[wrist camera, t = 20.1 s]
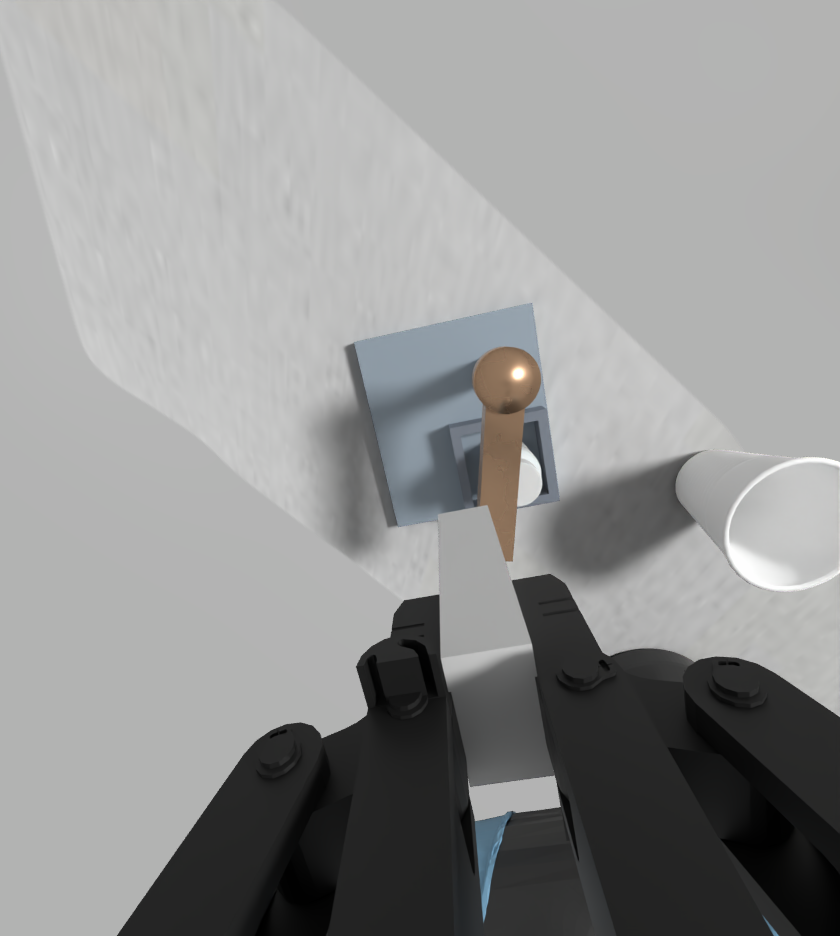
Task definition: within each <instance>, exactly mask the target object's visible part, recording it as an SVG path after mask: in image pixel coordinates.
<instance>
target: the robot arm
mask: <svg viewBox="0 0 840 936" xmlns="http://www.w3.org/2000/svg"><path fill="white" fill-rule="evenodd" d="M438 542H439V595H434V596H428V597H422V598H416V599H410V600H404V601H403V603H402V604H401V606H400V607H399V608H398V609H397V611H396V612H395V613H394V617H393V624H392V632H391V637H390V638H388V639H384V640H382V641H380V642H379V643H377V644H375V645H373V646H371V647H370V648H369V649H368V650H367V651H366V652H365V653H364V654H363V655H362V656H361V658H360V660H359V662H358V664H357V666H356V668H357V671H358V675H359V678H360V682H361V685H362V689H363V692H364V695H365V699H366V702H367V706H368V712H367V715H366V716H365V717H364V718H362V719H361V720H360V721H358V722H357V723H355V724H353V725H351V726H349V727H347V728H346V729H343V730H341V731H338V732H336V733H334V734H331V735H329V736H327V737H324V738H321V735H320V733H319V732H318V731H317V730H316V729H315V728H314V727H313V726H312V725H308V724H304V723H293V724H286V725H283V726H281V727H278V728H276V729H273V730H271V731H270V732H268V733H267V734H265V735H264V736H262V737H261V738H260V739H258V740H257V741H256V742H255V743H254V744H253V745H252V746H251V747H250V748H249V749H248V751H247V752H246V753H245V754H244V755H243V756H242V758H241V759H240V761H239V762H238V764H237V765H236V766H235V768H234V770H233V771H232V772H231V774H230V775H229V777H228V778H227V779H226V781H225V782H224V784H223V785H222V787H221V788H220V789H219V791H218V792H217V794H216V795H215V796H214V798H213V799H212V801H211V802H210V804H209V805H208V806H207V808H206V809H205V811H204V812H203V814H202V815H201V817H200V818H199V819H198V821H197V822H196V824H195V825H194V827H193V828H192V830H191V831H190V832H189V834H188V835H187V837H186V838H185V839H184V841H183V842H182V844H181V845H180V846H179V848H178V849H177V851H176V852H175V854H174V855H173V856H172V858H171V859H170V861H169V862H168V864H167V865H166V866H165V868H164V869H163V871H162V872H161V874H160V875H159V877H158V878H157V879H156V881H155V882H154V884H153V885H152V886H151V888H150V889H149V891H148V892H147V894H146V895H145V896H144V898H143V899H142V901H141V902H140V903H139V905H138V906H137V908H136V909H135V911H134V912H133V914H132V915H131V916H130V918H129V919H128V921H127V922H126V924H125V925H124V926H123V928H122V929H121V931H120V932H119V934H118V935H117V936H840V717H839V716H837V715H836V714H834V713H833V712H831V711H830V710H828V709H827V708H825V707H824V706H823V705H821V704H820V703H818V702H817V701H815V700H814V699H812V698H811V697H809V696H808V695H806V694H805V693H803V692H802V691H801V690H799V689H798V688H796V687H795V686H793V685H792V684H790V683H789V682H787V681H786V680H784V679H783V678H781V677H780V676H779V675H777V674H776V673H774V672H772V671H770V670H768V669H766V668H764V667H762V666H760V665H758V664H756V663H753V662H749V661H746V660H742V659H739V658H731V657H711V658H706V659H700V660H698V661H696V662H693V661H692V660H690V659H688V658H687V657H685V656H682V655H680V654H677V653H674V652H671V651H666V650H660V649H639V650H633V651H628V652H624V653H621V654H618V655H616V656H613V657H609V656H607V655H605V654H604V653H602V651H601V649H600V647H599V646H598V644H597V642H596V640H595V638H594V636H593V634H592V633H591V631H590V629H589V627H588V625H587V623H586V621H585V619H584V618H583V616H582V614H581V612H580V610H579V609H578V606H577V605H576V603H575V601H574V599H573V598H572V595H571V593H570V591H569V590H568V588H567V586H566V584H565V583H564V582H562V581H561V580H559V579H557V578H556V577H554V576H553V575H551V574H547V575H541V576H535V577H529V578H523V579H518V580H511V577H510V574H509V571H508V568H507V565H506V561H505V558H504V555H503V552H502V549H501V546H500V543H499V540H498V536H497V533H496V530H495V527H494V524H493V521H492V518H491V515H490V511H489V508H488V505H485V506H480V507H474V508H469V509H463V510H458V511H453V512H447V513H442V514H438ZM553 770H554V771H553ZM554 774H555V778H556V781H557V787H558V793H559V799H560V805H561V807H559V808H552V809H545V810H539V811H538V810H537V811H530V812H521V813H515V812H513V811H511V812H507V813H506V814H505V815H503V816H499V817H495V818H490V819H485V820H480V821H475V819H474V814H473V810H472V806H471V801H470V797H469V789H468V779H469V783H470V787H472V786H480V785H487V784H494V783H502V782H509V781H516V780H523V779H531V778H539V777H546V776H553V775H554Z"/></svg>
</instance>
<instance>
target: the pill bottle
mask: <svg viewBox="0 0 840 936" xmlns="http://www.w3.org/2000/svg"><path fill="white" fill-rule="evenodd" d="M541 489H542V478H541V467H540V464H539V462H538V460H537V459H536V457H535V456H534V455H533V454H532V452H531V451H530V450H529V449H528V448H527V447H526V445H525V444H524V443H523V442H522V450H521V463H520V475H519V488H518V500H517V507H520V506H525V505H528V504H530V503H532V502H533V501H534V500H535V499H536V498H537V497H538V496H539V494H540V492H541Z"/></svg>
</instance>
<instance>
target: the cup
mask: <svg viewBox="0 0 840 936" xmlns="http://www.w3.org/2000/svg"><path fill="white" fill-rule="evenodd" d="M675 488H676V495H677V498H678V500H679V502H680V503H681V504H682V505H683V507H684V508H685V509H686V510H687V511H688V512H689V514H690V515H691V516H692V517H693V518H694V519H695V521H696V522H697V523H698V524H699V525H700V526H701V528H702V529H703V530H704V531H705V532H706V533H707V535H708V536H709V537H710V538H711V539H712V541H713V542H714V543H715V544H716V545H717V546H718V548H719V549H720V550H721V551H722V552H723V553H724V555H725V557H726V559H727V561H728V563H729V565H730V567H731V568H732V569H733V570H734V571H735V572H736V574H737V575H738V576H740V577H741V578H742V579H744V580H745V581H746V582H748V583H749V584H752V585H754V586H756V587H758V588H761V589H765V590H770V591H776V592H792V591H800V590H804V589H808V588H811V587H815V586H817V585H820V584H822V583H824V582H826V581H828V580H830V579H832V578H833V577H835V576H836V575H837V574H839V573H840V462H837V461H835V460H831V459H826V458H821V457H803V458H792V457H783V456H773V455H765V454H755V453H746V452H736V451H729V450H719V449H713V450H706V451H703V452H700V453H698V454H696V455H695V456H693V457H692V458H690V459H689V460H688V461H687V462H686V463H685V464H684V465H683V466H682V468H681V470H680V471H679V473H678V476H677V478H676V484H675Z"/></svg>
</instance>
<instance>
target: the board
mask: <svg viewBox="0 0 840 936" xmlns="http://www.w3.org/2000/svg"><path fill="white" fill-rule="evenodd" d="M354 344H355V349H356V353H357V357H358V361H359V365H360V369H361V374H362V378H363V382H364V386H365V390H366V395H367V399H368V403H369V407H370V411H371V416H372V420H373V424H374V428H375V432H376V437H377V441H378V445H379V449H380V453H381V458H382V462H383V466H384V470H385V474H386V478H387V483H388V487H389V491H390V495H391V499H392V504H393V508H394V512H395V516H396V520H397V525H398V527H401V526H407V525H412V524H417V523H423V522H428V521H434V520H438V514H442V513H447V512H453V511H458V510H463V509H469V508H474V507H477V494H478V477H479V459H480V441H481V423H482V405H483V404H482V402H481V401H480V400H479V398H478V397H477V396H476V394H475V392H474V390H473V386H472V372H473V369H474V366H475V364H476V362H477V361H478V359H479V358H480V357H481V356H482V355H483V354H484V353H485V352H487V351H489V350H491V349H493V348H496V347H503V346H505V347H515V348H519V349H522V350H524V351H526V352H527V353H529V354H530V355H531V356H532V357H533V358H534V359H535V361H536V362H537V364H538V366H539V369H540V373H541V385H540V389H539V392H538V394H537V396H536V398H535V399H534V401H533V402H532V403H531V404H530V405H529V406H528V407H526V408H525V413H524V425H523V438H522V442H523V443H524V444H525V445H526V447H527V448H528V449H529V450H530V451H531V452H532V454H533V455H534V456H535V457H536V459H537V460H538V462H539V464H540V467H541V478H542V489H541V492H540V494H539V496H538V497H537V498H536V499H535V500H534V501H533V502H532V503H530V504H528V505H525V506H520V507H517V509H518V508H523V507H529V506H534V505H539V504H545V503H550V502H556V501H560V500H559V497H560V496H559V489H558V482H557V475H556V468H555V461H554V454H553V447H552V440H551V433H550V425H549V418H548V411H547V404H546V397H545V390H544V383H543V376H542V369H541V362H540V354H539V347H538V340H537V333H536V326H535V319H534V312H533V305H532V303H529V304H524V305H520V306H515V307H511V308H506V309H502V310H497V311H492V312H488V313H483V314H479V315H474V316H470V317H465V318H461V319H456V320H452V321H447V322H443V323H438V324H434V325H429V326H425V327H420V328H416V329H411V330H406V331H402V332H397V333H393V334H388V335H384V336H379V337H375V338H370V339H366V340H361V341H357V342H354Z"/></svg>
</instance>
